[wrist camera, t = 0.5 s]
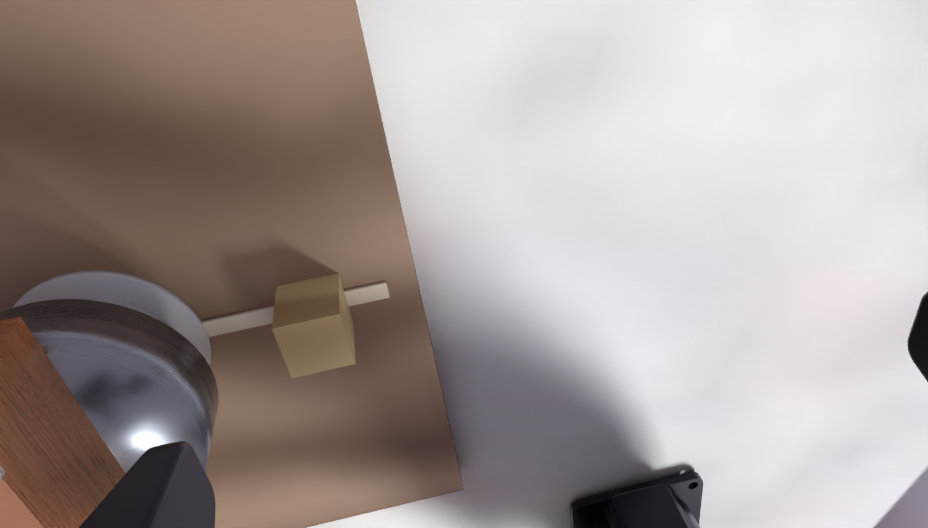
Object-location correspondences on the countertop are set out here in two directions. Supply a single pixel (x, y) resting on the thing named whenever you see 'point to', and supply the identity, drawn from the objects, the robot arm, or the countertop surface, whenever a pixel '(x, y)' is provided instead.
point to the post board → (232, 233)
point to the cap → (90, 404)
